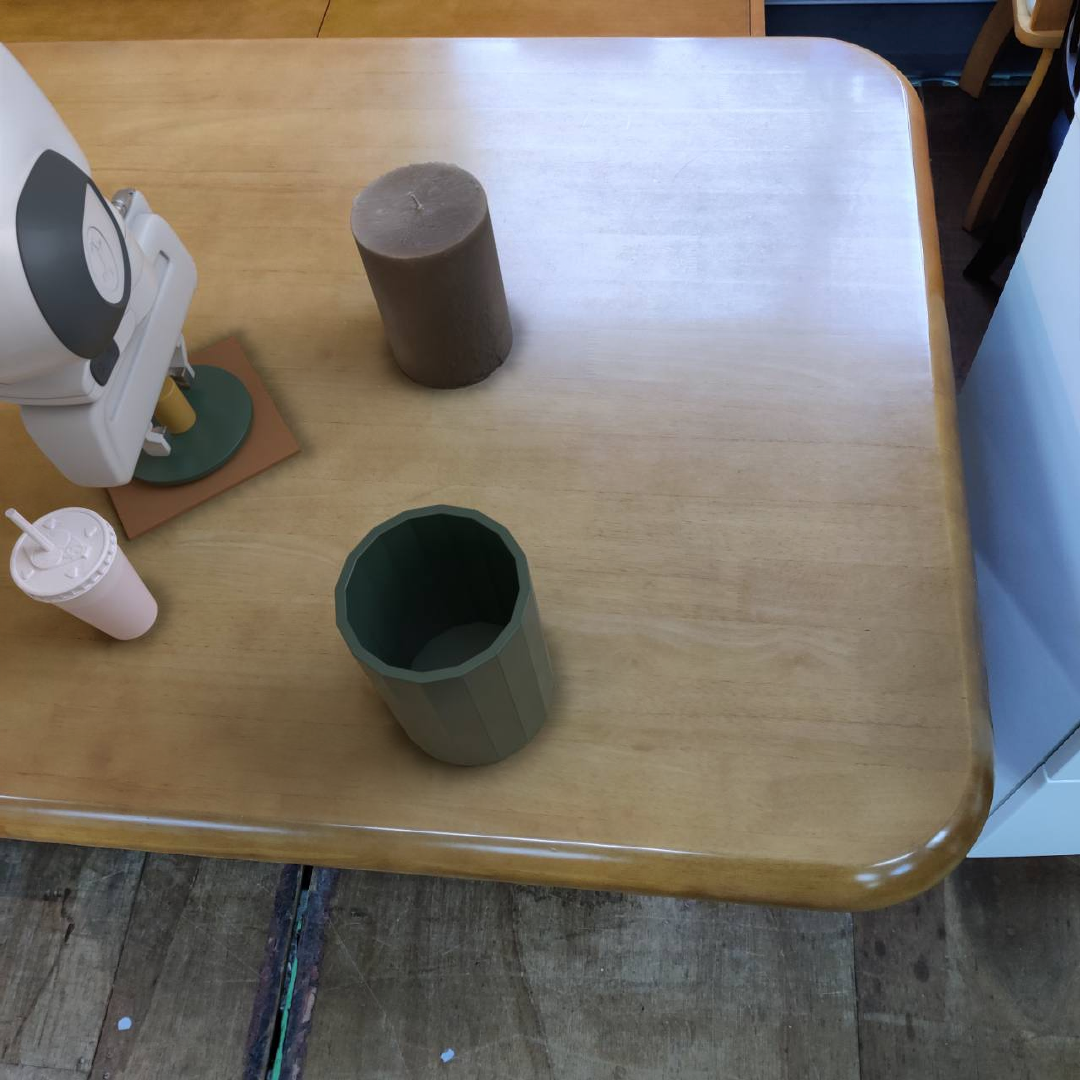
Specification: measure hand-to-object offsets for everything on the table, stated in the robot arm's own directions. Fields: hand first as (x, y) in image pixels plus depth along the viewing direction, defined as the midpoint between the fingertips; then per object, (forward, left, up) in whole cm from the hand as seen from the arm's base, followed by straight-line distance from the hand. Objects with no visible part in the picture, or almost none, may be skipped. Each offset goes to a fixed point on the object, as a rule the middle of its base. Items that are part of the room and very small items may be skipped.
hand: (173, 415), depth 73 cm
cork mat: (0, 0, -2) cm, 2 cm away
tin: (-5, -32, -2) cm, 32 cm away
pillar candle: (+18, -13, -3) cm, 22 cm away
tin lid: (0, 0, -1) cm, 1 cm away
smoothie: (-14, -8, -3) cm, 16 cm away
